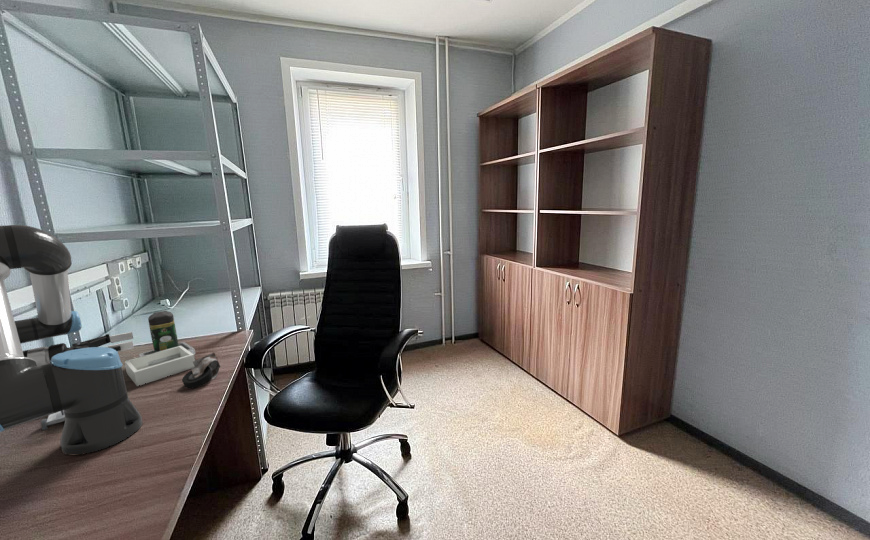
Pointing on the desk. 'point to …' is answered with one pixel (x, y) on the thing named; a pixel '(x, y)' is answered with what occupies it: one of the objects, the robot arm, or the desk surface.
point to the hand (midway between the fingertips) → (133, 339)
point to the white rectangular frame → (169, 356)
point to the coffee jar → (163, 331)
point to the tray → (159, 365)
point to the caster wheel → (202, 372)
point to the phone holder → (52, 419)
